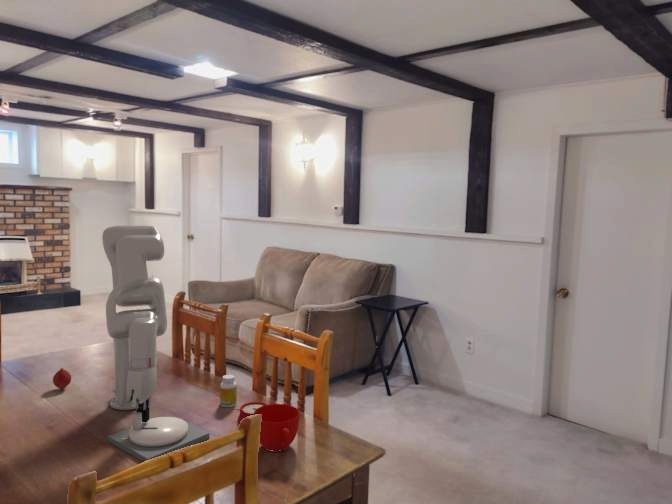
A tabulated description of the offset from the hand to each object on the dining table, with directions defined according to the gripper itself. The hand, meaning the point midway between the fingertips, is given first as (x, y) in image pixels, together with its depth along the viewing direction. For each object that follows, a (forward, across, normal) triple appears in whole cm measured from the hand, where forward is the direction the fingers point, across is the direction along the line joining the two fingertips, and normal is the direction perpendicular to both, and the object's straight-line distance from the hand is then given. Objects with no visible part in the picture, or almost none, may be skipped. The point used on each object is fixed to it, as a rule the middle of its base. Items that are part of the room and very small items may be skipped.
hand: (143, 420), depth 154 cm
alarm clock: (+4, -15, +31) cm, 34 cm away
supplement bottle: (+5, -26, +17) cm, 31 cm away
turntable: (+2, +3, +6) cm, 7 cm away
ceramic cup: (+3, +2, +41) cm, 41 cm away
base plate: (+4, +3, +6) cm, 8 cm away
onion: (+6, -27, -45) cm, 53 cm away
